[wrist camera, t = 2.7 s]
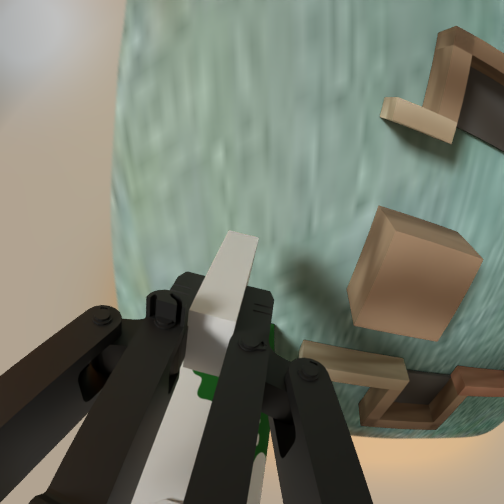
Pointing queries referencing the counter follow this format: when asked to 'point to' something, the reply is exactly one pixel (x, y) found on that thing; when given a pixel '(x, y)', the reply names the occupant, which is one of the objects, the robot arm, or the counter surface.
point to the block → (410, 276)
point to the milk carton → (190, 442)
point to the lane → (387, 367)
